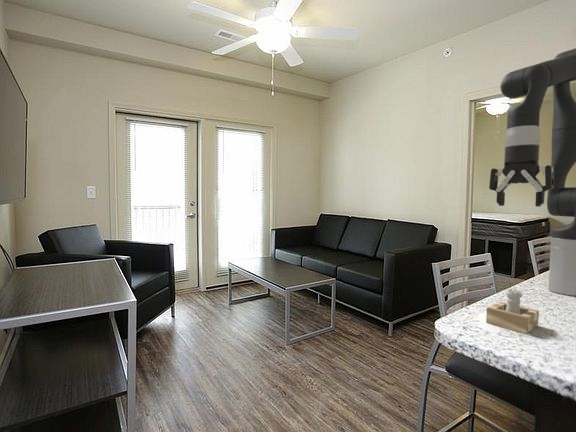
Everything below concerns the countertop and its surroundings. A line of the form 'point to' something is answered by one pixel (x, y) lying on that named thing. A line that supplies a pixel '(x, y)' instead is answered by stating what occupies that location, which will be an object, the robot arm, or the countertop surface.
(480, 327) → the countertop surface
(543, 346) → the countertop surface
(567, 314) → the countertop surface
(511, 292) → the rook chess piece
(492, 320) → the socket block
